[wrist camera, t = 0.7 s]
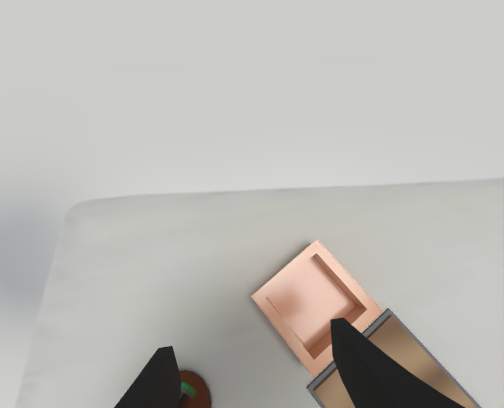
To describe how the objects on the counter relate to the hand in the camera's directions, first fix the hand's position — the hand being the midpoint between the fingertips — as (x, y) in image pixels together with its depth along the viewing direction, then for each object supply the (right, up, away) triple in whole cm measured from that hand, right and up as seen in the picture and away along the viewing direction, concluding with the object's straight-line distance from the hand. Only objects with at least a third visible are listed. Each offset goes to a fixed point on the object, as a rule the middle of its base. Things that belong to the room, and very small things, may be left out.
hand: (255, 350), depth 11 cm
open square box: (+8, -6, +21) cm, 23 cm away
